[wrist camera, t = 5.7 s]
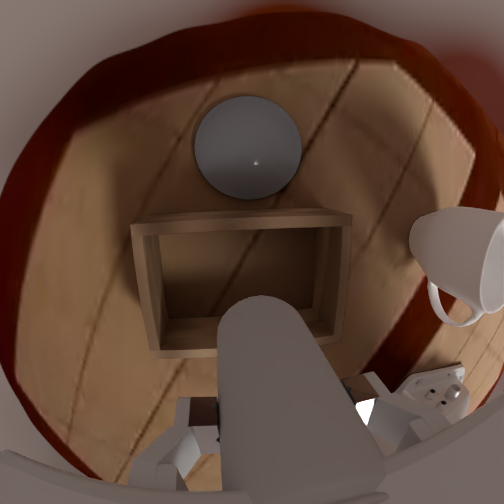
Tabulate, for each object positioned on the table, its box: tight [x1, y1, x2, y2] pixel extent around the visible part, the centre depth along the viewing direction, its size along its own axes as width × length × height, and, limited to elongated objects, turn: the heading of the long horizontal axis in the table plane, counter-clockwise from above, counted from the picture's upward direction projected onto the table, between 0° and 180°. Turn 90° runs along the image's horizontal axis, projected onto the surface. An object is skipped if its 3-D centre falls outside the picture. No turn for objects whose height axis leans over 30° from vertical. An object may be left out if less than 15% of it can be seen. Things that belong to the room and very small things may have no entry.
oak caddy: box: [130, 208, 352, 359], centre depth 22 cm, size 16×11×6 cm
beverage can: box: [217, 295, 390, 504], centre depth 10 cm, size 5×5×12 cm
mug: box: [409, 207, 504, 327], centre depth 22 cm, size 12×9×12 cm
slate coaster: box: [195, 96, 302, 199], centre depth 22 cm, size 9×9×1 cm
